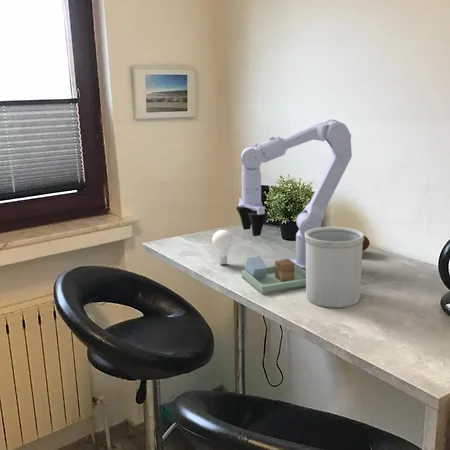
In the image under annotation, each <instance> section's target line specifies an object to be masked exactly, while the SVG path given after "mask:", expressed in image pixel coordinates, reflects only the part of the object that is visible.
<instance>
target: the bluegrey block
mask: <svg viewBox="0 0 450 450" xmlns="http://www.w3.org/2000/svg"><path fill="white" fill-rule="evenodd" d="M267 267H268V266H267V264H266V263H265V262H264V261H263V259H262V257H261V256H260V255H259V256H253V257H251V256H250V257H247V259H246V262H245V267H244V270H246V271H247V272H248V273H249V274H250V275H251V276H253V277H254V278H255V279H262V278H265V275H266V271H267Z"/></svg>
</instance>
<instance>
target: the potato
mask: <svg viewBox="0 0 450 450" xmlns="http://www.w3.org/2000/svg"><path fill="white" fill-rule="evenodd" d="M370 243H371V242H370V240H369V238H368V237H367V236H366V235H365V234H364V241H363V248H362V252H364V251H366V250H367V249H369V248H368V247H369V246H370Z"/></svg>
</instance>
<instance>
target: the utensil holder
mask: <svg viewBox="0 0 450 450" xmlns="http://www.w3.org/2000/svg"><path fill="white" fill-rule="evenodd" d="M364 235H365V234H364V232H362V231H361V230H359V229H355V228H352V227H348V226H347V227H345V226H321V227H319V228H314V229H310V230H308V231H306V232H305V240H306V268H305V272H306V287H305V288H306V289H305V291H306V299H307V300H308V301H309V302H310V303H312V304H314V305H317V306H320V307H324V308H335V309H337V308H347V307H351V306H354V305H355V304H357V303H358V302H360V298H361V296H360V295H361V285H362V267H363V266H362V264H363V263H362V261H363V251H362V248H363V241H364Z"/></svg>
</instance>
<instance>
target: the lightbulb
mask: <svg viewBox="0 0 450 450" xmlns="http://www.w3.org/2000/svg"><path fill="white" fill-rule="evenodd" d="M211 242H212V245H213V247H214V248H215V250H216V252H217V255H218V264H220V265H222V266H223V265H226V264H227V263H228V255H229V250H230V249H231V247H232V245H233V243H234V237H233V235H232V233H231V232H229V230H226V229H219V230H217V231H216V232H214V233H213V235H212V238H211Z"/></svg>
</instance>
